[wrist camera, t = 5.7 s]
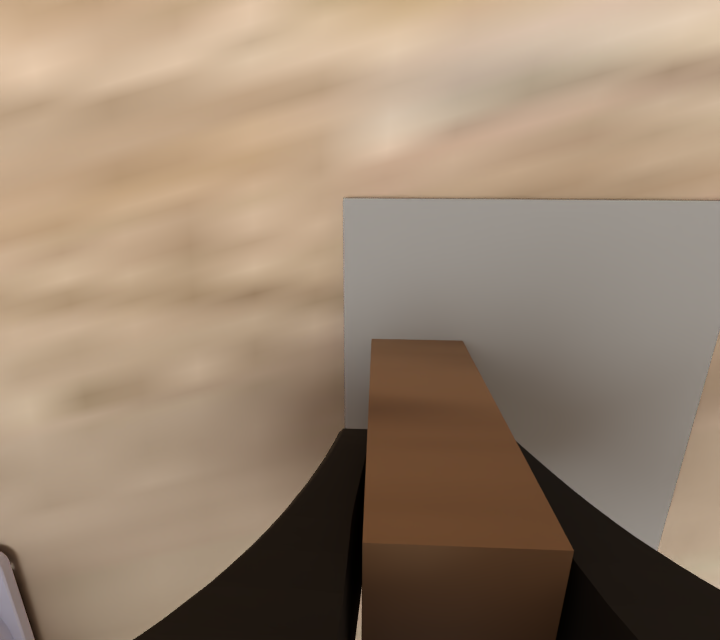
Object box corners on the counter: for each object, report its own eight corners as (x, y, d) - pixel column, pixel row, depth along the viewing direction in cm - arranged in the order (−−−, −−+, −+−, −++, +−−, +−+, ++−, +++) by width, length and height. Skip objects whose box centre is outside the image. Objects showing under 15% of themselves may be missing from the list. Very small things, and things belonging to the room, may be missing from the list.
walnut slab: (449, 490, 13) (522, 803, 7) (369, 488, 13) (360, 794, 7) (462, 340, 12) (575, 551, 5) (371, 338, 12) (362, 542, 5)
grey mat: (641, 569, 14) (649, 579, 14) (346, 557, 15) (345, 567, 14) (742, 200, 11) (756, 201, 10) (344, 197, 11) (342, 198, 11)
